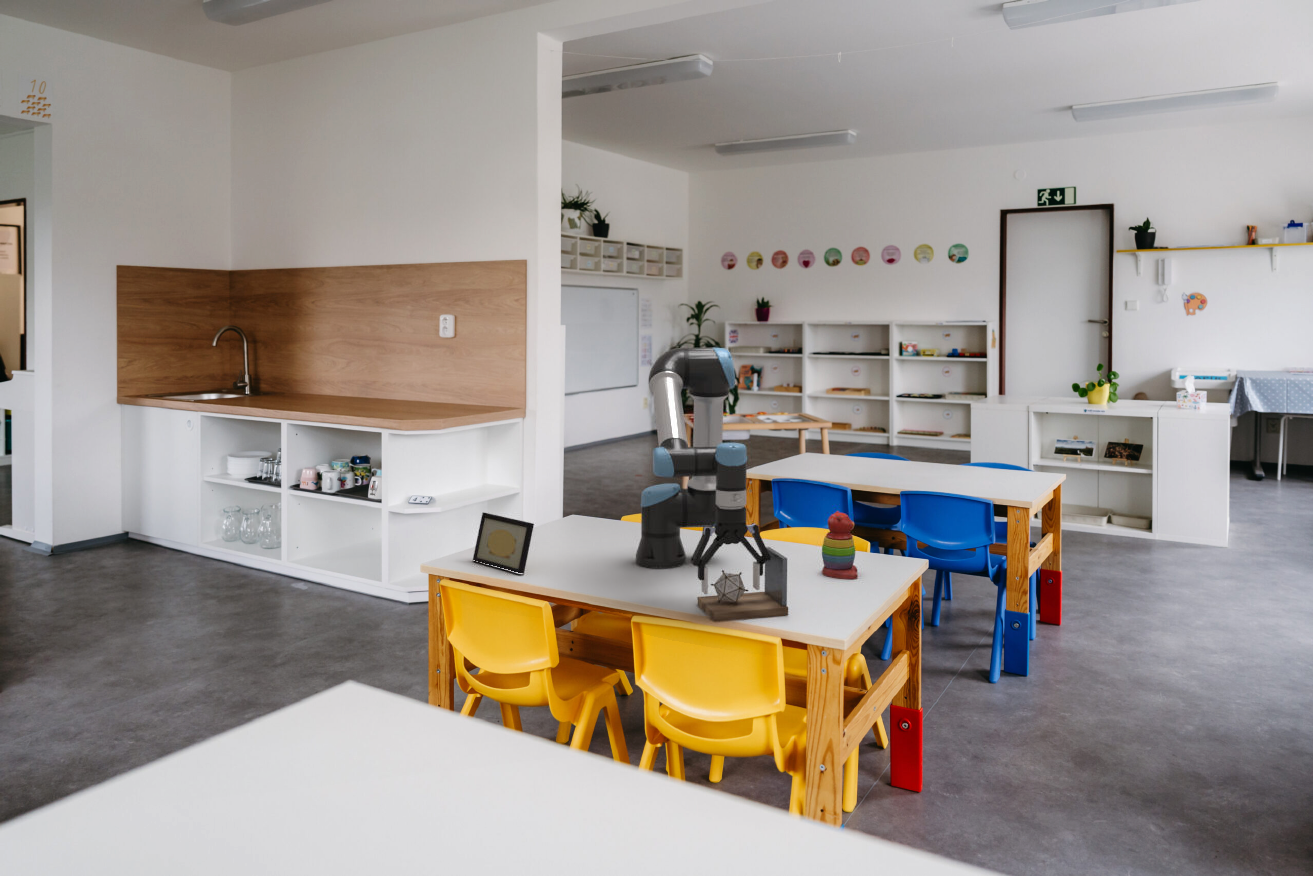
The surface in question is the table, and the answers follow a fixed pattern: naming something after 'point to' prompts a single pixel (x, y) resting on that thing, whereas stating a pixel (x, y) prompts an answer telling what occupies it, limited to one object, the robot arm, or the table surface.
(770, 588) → the bookend
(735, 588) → the game die
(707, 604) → the shelf plank
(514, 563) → the picture frame
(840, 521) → the stacking bear
